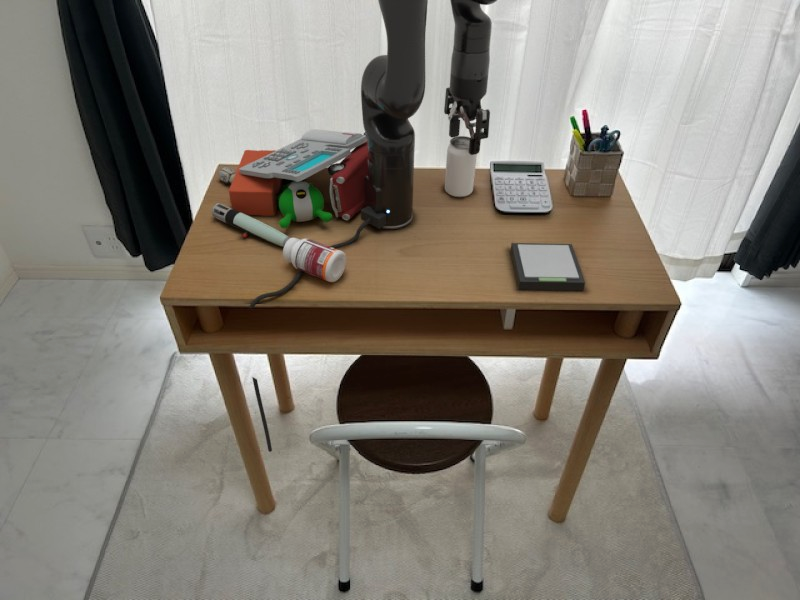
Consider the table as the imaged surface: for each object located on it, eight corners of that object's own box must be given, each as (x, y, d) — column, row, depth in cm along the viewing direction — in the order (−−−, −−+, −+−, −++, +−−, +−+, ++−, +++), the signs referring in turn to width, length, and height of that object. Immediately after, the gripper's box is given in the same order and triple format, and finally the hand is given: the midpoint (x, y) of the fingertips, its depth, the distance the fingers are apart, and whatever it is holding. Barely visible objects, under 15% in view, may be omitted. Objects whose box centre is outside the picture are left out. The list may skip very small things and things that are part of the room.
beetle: (249, 170, 140) (250, 181, 142) (222, 162, 141) (224, 174, 144) (240, 179, 137) (242, 191, 140) (213, 172, 139) (215, 183, 141)
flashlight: (284, 258, 123) (211, 223, 130) (296, 240, 124) (223, 207, 131) (277, 250, 120) (203, 215, 127) (290, 232, 121) (216, 199, 129)
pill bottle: (346, 275, 118) (300, 256, 122) (348, 246, 114) (300, 228, 119) (327, 288, 113) (279, 269, 117) (329, 259, 110) (280, 240, 114)
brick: (228, 190, 127) (232, 215, 131) (271, 191, 127) (275, 216, 131) (244, 149, 141) (248, 172, 145) (284, 150, 141) (286, 173, 145)
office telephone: (317, 123, 144) (375, 128, 130) (320, 134, 145) (378, 140, 132) (235, 162, 131) (291, 172, 118) (240, 174, 133) (295, 185, 119)
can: (471, 199, 138) (476, 150, 130) (442, 196, 139) (445, 147, 131) (474, 184, 142) (479, 136, 135) (446, 181, 143) (450, 133, 135)
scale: (518, 289, 115) (520, 279, 113) (510, 250, 124) (511, 241, 122) (582, 290, 115) (585, 280, 113) (569, 251, 124) (572, 242, 122)
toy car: (319, 173, 124) (363, 179, 121) (371, 123, 142) (412, 127, 138) (327, 220, 131) (369, 227, 127) (376, 166, 149) (415, 171, 145)
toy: (319, 170, 136) (328, 183, 122) (324, 207, 139) (333, 224, 125) (269, 177, 134) (273, 190, 120) (275, 214, 137) (280, 232, 123)
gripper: (435, 61, 126) (432, 134, 137) (471, 87, 116) (465, 163, 127) (467, 55, 128) (462, 127, 139) (505, 80, 119) (496, 156, 130)
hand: (463, 144), depth 133 cm, fingers open, 8 cm apart
